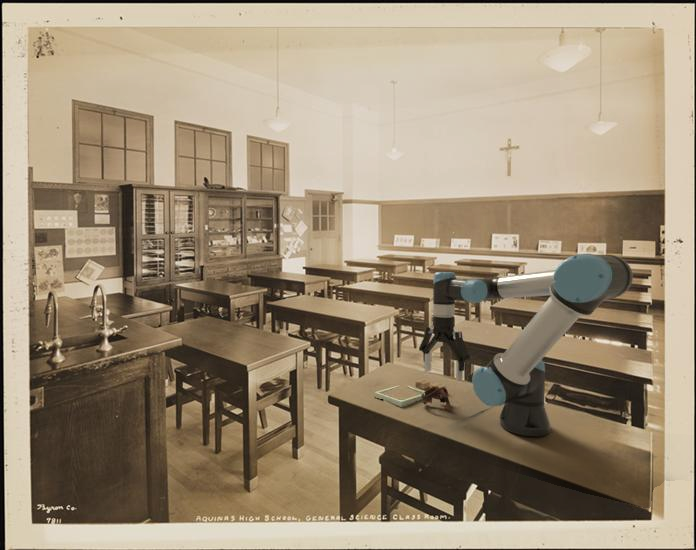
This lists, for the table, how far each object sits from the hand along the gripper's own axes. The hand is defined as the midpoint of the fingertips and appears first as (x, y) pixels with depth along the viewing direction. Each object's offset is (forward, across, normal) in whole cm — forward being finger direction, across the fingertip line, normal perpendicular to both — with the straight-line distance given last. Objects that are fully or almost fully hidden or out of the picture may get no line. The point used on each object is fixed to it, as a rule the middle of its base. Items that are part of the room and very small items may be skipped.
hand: (442, 375), depth 144 cm
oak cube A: (+12, +10, -10) cm, 18 cm away
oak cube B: (+12, +16, -9) cm, 22 cm away
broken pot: (+13, 0, -1) cm, 13 cm away
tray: (+12, +16, +3) cm, 21 cm away
